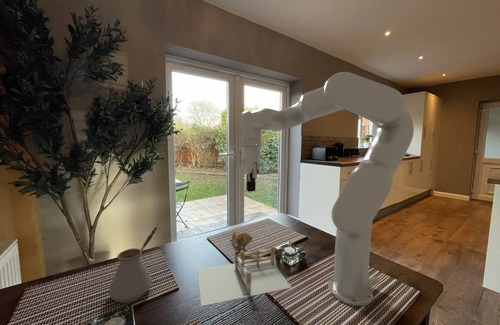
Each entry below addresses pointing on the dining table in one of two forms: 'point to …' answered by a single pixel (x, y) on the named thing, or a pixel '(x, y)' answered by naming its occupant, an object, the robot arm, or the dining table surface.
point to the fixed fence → (271, 258)
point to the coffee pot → (131, 275)
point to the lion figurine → (241, 239)
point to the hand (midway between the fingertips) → (250, 190)
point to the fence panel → (243, 272)
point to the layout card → (238, 282)
